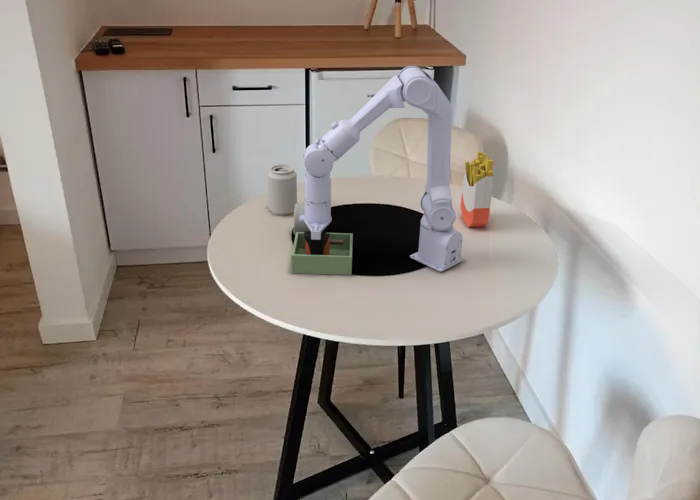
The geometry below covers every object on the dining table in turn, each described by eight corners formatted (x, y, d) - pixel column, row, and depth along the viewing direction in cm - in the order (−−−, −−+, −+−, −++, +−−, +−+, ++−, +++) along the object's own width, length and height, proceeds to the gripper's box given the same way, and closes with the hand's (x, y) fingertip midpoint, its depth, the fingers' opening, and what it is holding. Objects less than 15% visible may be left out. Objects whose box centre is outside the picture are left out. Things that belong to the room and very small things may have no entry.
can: (281, 202, 184) (280, 160, 179) (302, 209, 180) (302, 167, 175) (262, 211, 179) (261, 168, 173) (284, 218, 175) (283, 175, 169)
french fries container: (469, 231, 171) (477, 164, 162) (458, 213, 180) (465, 149, 172) (487, 231, 171) (496, 163, 163) (475, 213, 181) (482, 148, 172)
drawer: (352, 250, 160) (352, 233, 158) (351, 275, 150) (352, 257, 148) (296, 248, 160) (296, 231, 158) (291, 273, 150) (291, 255, 148)
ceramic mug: (327, 240, 165) (327, 211, 161) (293, 240, 164) (292, 210, 161) (326, 222, 174) (326, 194, 171) (294, 222, 174) (294, 194, 170)
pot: (304, 264, 153) (304, 242, 150) (306, 253, 157) (306, 231, 155) (342, 265, 152) (342, 243, 150) (342, 254, 157) (343, 232, 155)
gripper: (302, 185, 154) (302, 239, 161) (296, 212, 142) (297, 269, 148) (333, 186, 154) (332, 240, 161) (330, 213, 142) (329, 269, 148)
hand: (317, 254), depth 154 cm, fingers closed on pot, 5 cm apart
